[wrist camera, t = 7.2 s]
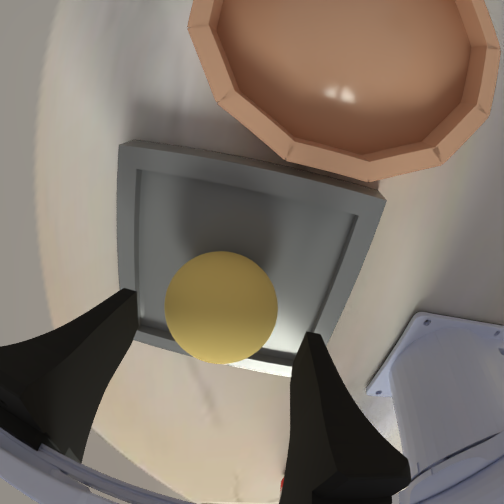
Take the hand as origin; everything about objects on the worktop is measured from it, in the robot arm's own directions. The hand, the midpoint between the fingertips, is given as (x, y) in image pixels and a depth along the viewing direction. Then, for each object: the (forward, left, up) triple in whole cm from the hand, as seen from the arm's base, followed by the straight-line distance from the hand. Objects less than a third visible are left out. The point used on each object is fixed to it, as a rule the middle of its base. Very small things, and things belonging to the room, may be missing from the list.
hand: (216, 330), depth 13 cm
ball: (0, 0, -4) cm, 4 cm away
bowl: (-3, -13, -5) cm, 14 cm away
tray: (0, 0, -5) cm, 5 cm away
